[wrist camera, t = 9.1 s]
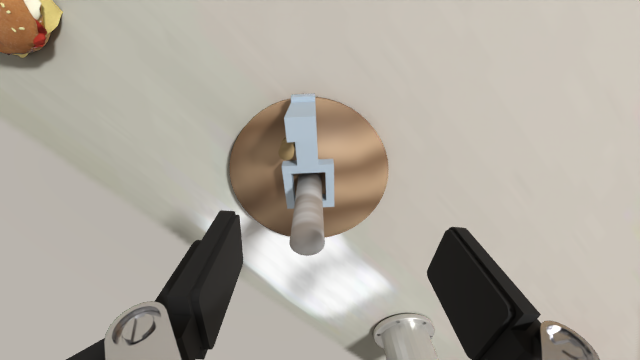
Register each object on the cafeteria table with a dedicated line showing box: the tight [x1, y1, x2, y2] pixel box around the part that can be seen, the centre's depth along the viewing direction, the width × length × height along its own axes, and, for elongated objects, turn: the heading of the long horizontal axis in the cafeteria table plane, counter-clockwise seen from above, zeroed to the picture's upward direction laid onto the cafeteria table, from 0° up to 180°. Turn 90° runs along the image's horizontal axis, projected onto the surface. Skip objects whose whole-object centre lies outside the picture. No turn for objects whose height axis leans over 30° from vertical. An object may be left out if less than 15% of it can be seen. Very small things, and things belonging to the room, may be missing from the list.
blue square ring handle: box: [282, 94, 334, 209], centre depth 24 cm, size 14×6×8 cm, turn 2°
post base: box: [230, 97, 388, 256], centre depth 25 cm, size 20×20×12 cm
